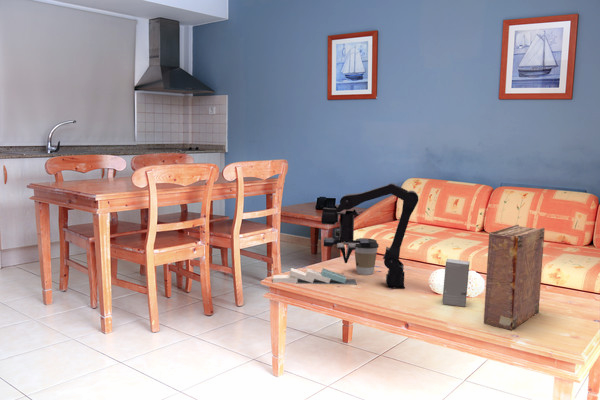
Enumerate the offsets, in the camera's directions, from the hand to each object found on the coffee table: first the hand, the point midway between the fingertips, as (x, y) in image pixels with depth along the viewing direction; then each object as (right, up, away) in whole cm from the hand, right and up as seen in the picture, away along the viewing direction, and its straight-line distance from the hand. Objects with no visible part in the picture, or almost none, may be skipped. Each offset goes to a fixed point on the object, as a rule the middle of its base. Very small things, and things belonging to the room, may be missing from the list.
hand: (345, 263), depth 216 cm
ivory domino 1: (-13, -7, +1) cm, 15 cm away
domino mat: (-8, -8, +2) cm, 11 cm away
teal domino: (0, -7, +1) cm, 7 cm away
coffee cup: (+10, -7, +17) cm, 21 cm away
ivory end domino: (-20, -7, +1) cm, 21 cm away
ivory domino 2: (-7, -7, +1) cm, 10 cm away
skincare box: (+38, -12, -24) cm, 46 cm away
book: (+53, -14, -39) cm, 67 cm away
